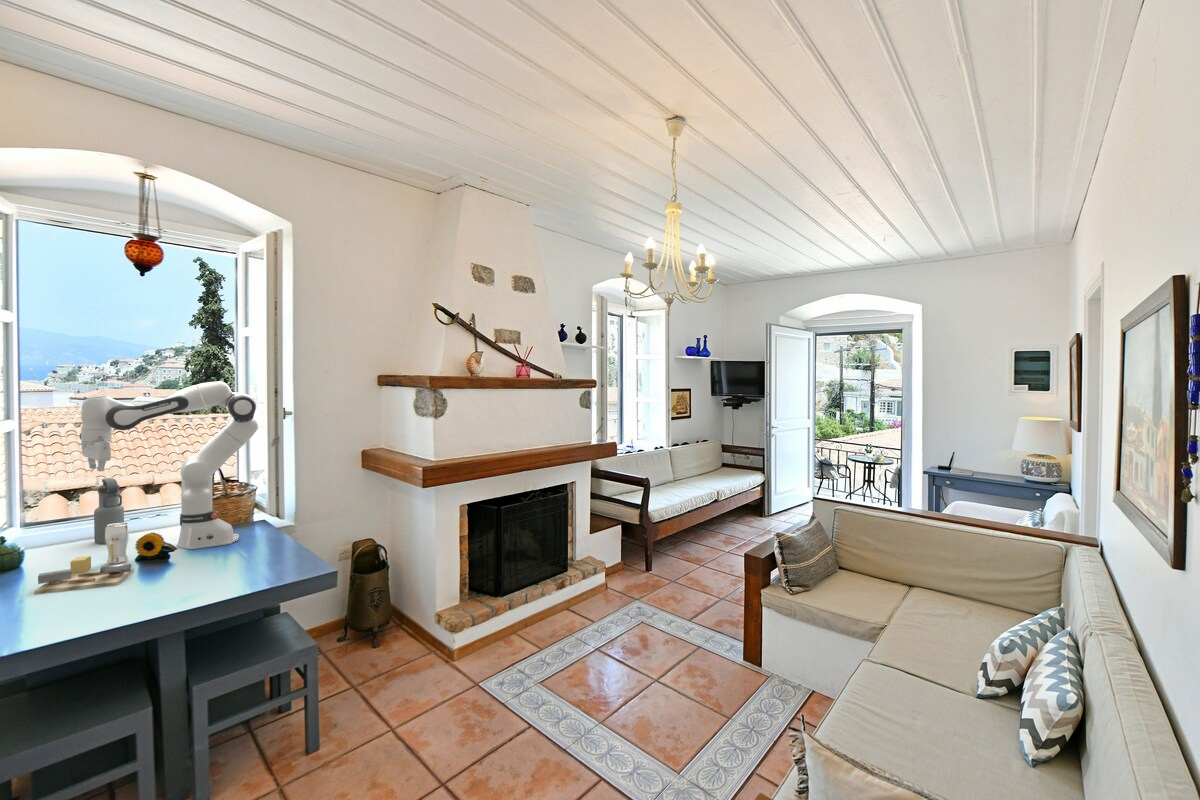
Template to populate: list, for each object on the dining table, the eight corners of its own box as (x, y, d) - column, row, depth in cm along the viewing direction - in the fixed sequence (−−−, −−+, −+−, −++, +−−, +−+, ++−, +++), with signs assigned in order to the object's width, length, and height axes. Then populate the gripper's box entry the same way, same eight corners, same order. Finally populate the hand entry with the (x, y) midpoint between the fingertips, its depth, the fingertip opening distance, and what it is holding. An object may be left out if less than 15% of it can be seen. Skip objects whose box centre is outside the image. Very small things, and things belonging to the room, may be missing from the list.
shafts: (131, 570, 194) (131, 562, 194) (125, 575, 190) (125, 566, 190) (43, 579, 184) (43, 570, 184) (35, 584, 180) (35, 575, 180)
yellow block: (77, 569, 199) (77, 557, 199) (91, 568, 201) (90, 555, 201) (70, 574, 195) (70, 561, 195) (84, 573, 196) (84, 560, 196)
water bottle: (128, 540, 234) (127, 479, 233) (98, 546, 226) (97, 482, 225) (120, 536, 240) (119, 476, 239) (91, 541, 231) (90, 479, 230)
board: (133, 571, 199) (133, 565, 199) (117, 585, 186) (117, 578, 186) (56, 579, 190) (56, 573, 190) (34, 594, 177) (34, 587, 177)
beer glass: (102, 562, 207) (101, 525, 206) (124, 557, 213) (124, 521, 213) (109, 566, 204) (109, 528, 203) (132, 560, 210) (131, 524, 209)
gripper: (116, 437, 207) (116, 471, 207) (98, 433, 218) (98, 466, 218) (94, 438, 202) (94, 473, 202) (77, 434, 212) (77, 467, 213)
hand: (96, 469), depth 210 cm, fingers open, 8 cm apart
